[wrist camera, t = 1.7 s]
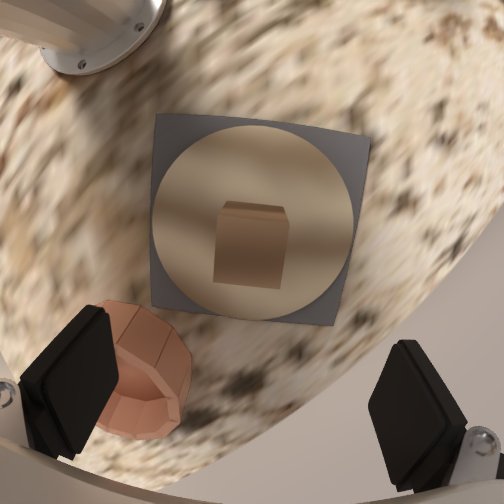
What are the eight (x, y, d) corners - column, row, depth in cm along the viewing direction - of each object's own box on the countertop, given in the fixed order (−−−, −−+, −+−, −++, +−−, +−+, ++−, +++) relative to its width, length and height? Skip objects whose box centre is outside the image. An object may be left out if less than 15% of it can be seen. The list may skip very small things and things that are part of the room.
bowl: (67, 292, 27) (35, 322, 21) (191, 313, 27) (175, 354, 21) (89, 385, 31) (69, 419, 25) (192, 408, 31) (182, 449, 26)
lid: (161, 120, 21) (130, 114, 15) (363, 142, 21) (396, 143, 15) (156, 302, 26) (133, 342, 20) (329, 320, 26) (344, 364, 20)
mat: (158, 114, 21) (156, 113, 21) (368, 137, 21) (370, 137, 21) (153, 303, 27) (151, 306, 26) (332, 322, 27) (333, 325, 26)
